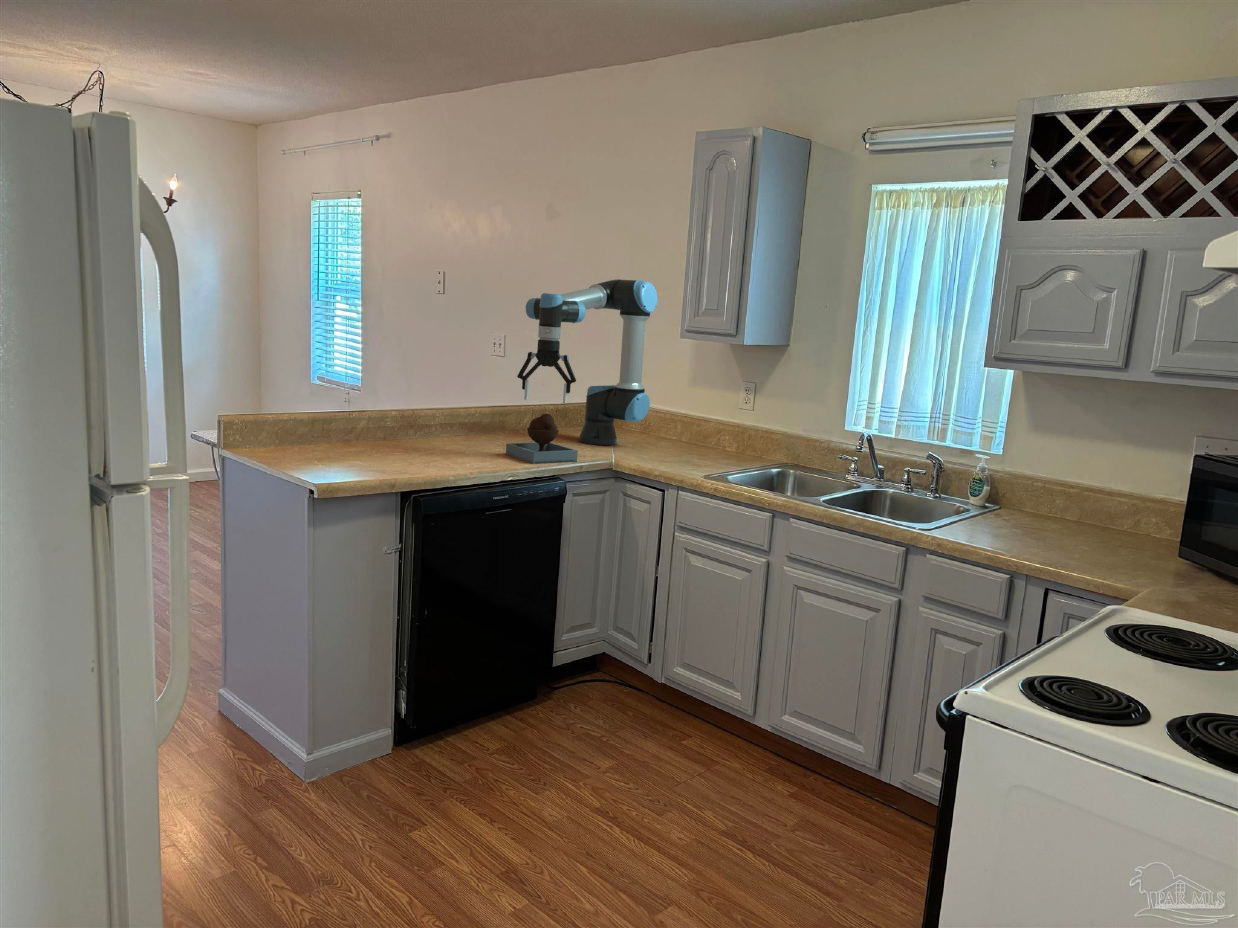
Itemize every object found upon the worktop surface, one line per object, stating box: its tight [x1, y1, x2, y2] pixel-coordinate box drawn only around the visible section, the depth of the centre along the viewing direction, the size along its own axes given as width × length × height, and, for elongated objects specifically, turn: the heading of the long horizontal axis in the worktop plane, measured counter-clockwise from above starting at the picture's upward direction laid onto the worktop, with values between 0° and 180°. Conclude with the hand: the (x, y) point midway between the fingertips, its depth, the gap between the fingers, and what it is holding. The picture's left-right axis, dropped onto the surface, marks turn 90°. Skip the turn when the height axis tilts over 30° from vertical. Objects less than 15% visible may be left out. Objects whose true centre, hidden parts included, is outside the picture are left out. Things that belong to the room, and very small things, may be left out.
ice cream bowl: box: [527, 413, 560, 452], centre depth 306 cm, size 11×11×15 cm
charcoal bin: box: [505, 441, 579, 465], centre depth 307 cm, size 18×18×4 cm
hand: (545, 401), depth 305 cm, fingers open, 13 cm apart
